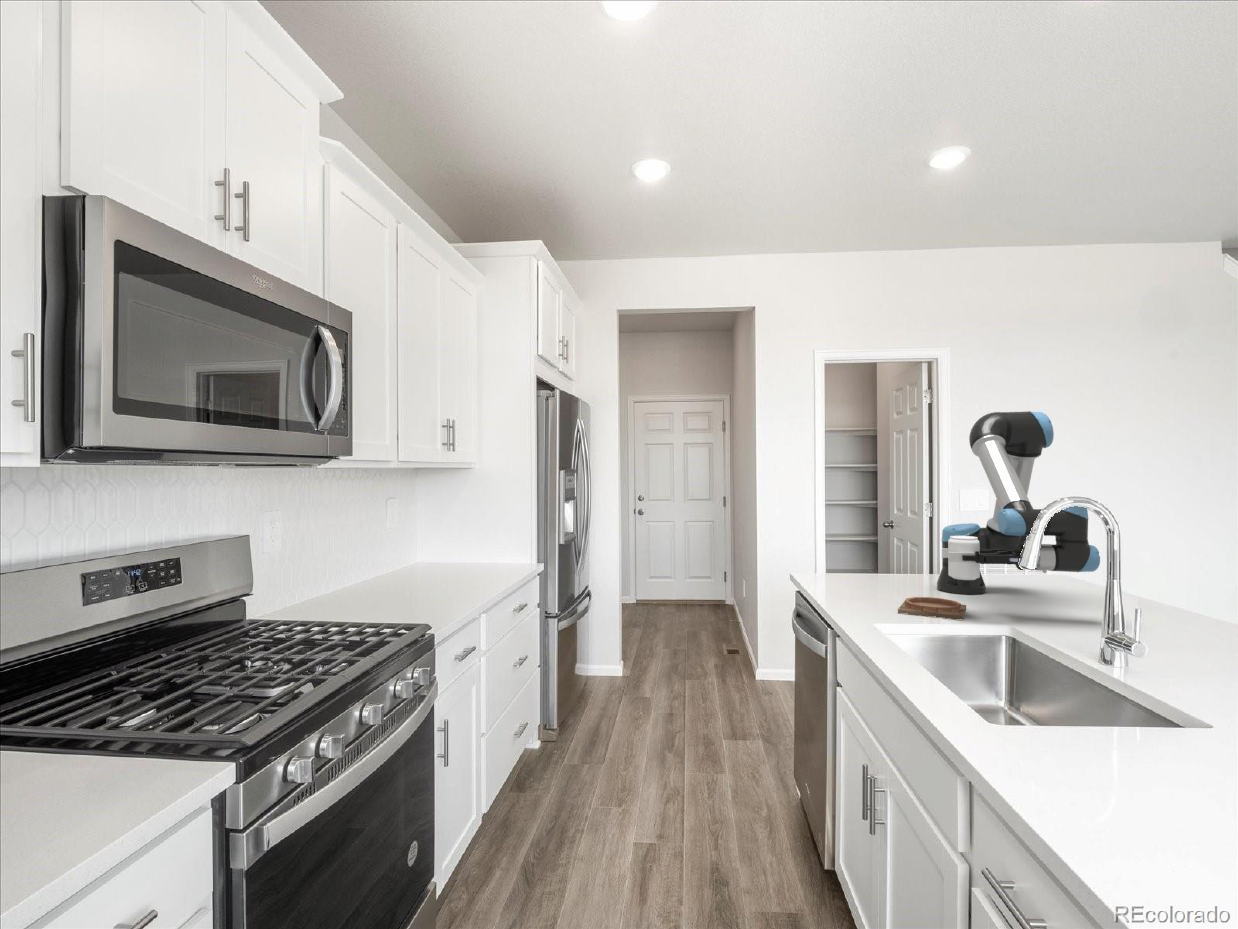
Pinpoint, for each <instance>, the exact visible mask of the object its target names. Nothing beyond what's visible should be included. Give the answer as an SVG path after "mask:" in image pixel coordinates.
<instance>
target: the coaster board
mask: <svg viewBox="0 0 1238 929" xmlns="http://www.w3.org/2000/svg"><path fill="white" fill-rule="evenodd" d="M966 612H967V604H963V603H960V602H958V601H956V600H952V599H947V598H941V597H931V596H930V597H929V596H914V597H908V598H905V599H904V601H903V602H902V604H901V605H900V606H899V607H898V608H897V614H900V613H908V614H907V615H910V614H914V615H913V616H919V615H921V616H920V617H928V616H936V617H935V618H938V617H945V618H944V619H947V618H951V619H950V620H956V619H963V620H964V617H965V614H966ZM964 613H965V614H964ZM963 616H964V617H963Z"/></svg>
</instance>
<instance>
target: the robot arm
mask: <svg viewBox="0 0 1238 929" xmlns="http://www.w3.org/2000/svg"><path fill="white" fill-rule="evenodd" d="M1053 426H1054V425H1053V424H1052V421H1051V419H1050V417H1049V416H1048V415H1047V414H1046V413H1044V412H1042V411H1031V410H1028V411H1006V412H1005V411H1004V412H1003V411H1002V412H1000V411H995V412H990V413H987V414H985V415H982V416H981V417H980V418H979V419H977V420H976V421H975V423H974V424H973V426H972V428H971V430H970V431H969V432H970V433H969V437H968V438H969V439H968V440H969V445H970V448H971V451H972V453H973V455H975V456H976V457H978V458H979V461H980V463H981V465H982V467H983V470H984V472H985V475H986V477H987V480H988V481H989V482H988V483H990V486H991V489H992V490H993V494H994V495H995V498H996V500H995V505H994V510H993V516H992V517H991V518H989V519H988V520H987V521H986V526H985V527H981V526H980V525H979V524H978V523H974V522H972V523H957V524H951V525H947V526H944V527H943V528H942V532H941V536H942V537H941V560H942V564H941V566H942V568H941V571H940V574H939V576H938V579H937V583H936V590H938V589H940V590H939V591H941V590H942V591H941V592H945V593H950V592H952V593H951V594H959V595H960V594H961V595H981V594H985V593H987V590H986V583H985V581H984V578H983V575H982V572H981V571H980V577H979V578H977V579H975V580H960V579H954V578H952V577H951V576H949V575H948V540H949V539H950V536H973V537H977V538H978V541H979V542H980V554H979V552H978V551H975V553H962V552H949V562H970V563H975V562H976V563H980V565H1015V568H1017V570H1019V571H1024V570H1023V569H1021V568H1020V567H1019V565H1018V562H1019V558H1020V553H1021V551H1022V549H1023V545H1024V541H1025V540H1026V537H1027V536H1029V534H1030V531H1031V528H1032V527H1033V523H1034V521H1035V520H1036V518H1037V516H1038V514H1039V513H1040V511H1041V510H1043V508H1042V509H1040V508H1038V509H1037V508H1034V506H1032V503H1031V501H1030V500H1029V498H1028V494H1029V489H1030V484H1031V478H1032V474H1033V469H1034V464H1035V459H1037V458H1039V457H1041V455H1042V452H1043V449H1046V448H1049V447H1050V446H1051V445H1052V444H1053V441H1054V434H1055V433H1054V427H1053ZM1088 512H1089V511H1088V507H1087V508H1084V507H1078V506H1074V507H1069V508H1066V509H1064V510H1061V511H1060V512H1058V513H1055V514H1054V516H1053V517H1051V519H1050V521H1049V522H1048V524H1047V527H1046V528H1045V531H1044V536H1045V537H1055V542H1056V543H1055V544H1050V543H1040V544H1041V548H1040V556H1039V560H1038V563H1037V568H1035V569H1033V570H1032V571H1034V570H1035V571H1039V572H1040V571H1042V572H1043V574H1046V573H1047V572H1048V571H1049V572H1069V573H1082V572H1083V573H1089V572H1090V573H1091V572H1095V571H1096V570H1098V569H1099V567H1100V564H1101V556H1100V551H1099V548H1097V547H1096V545H1092V544H1089V539H1088V538H1089V534H1088V533H1089V514H1088ZM1044 536H1043V537H1044Z"/></svg>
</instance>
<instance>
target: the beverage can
mask: <svg viewBox="0 0 1238 929" xmlns="http://www.w3.org/2000/svg"><path fill="white" fill-rule="evenodd" d="M975 551H978V552H979V554H980V542H979V541H978V538H977V537H973V536H950V539H949V540H948V575H949V576H951V577H952V578H954V579H960V580H975V579H977V578H979V577H980V572H981V564H980V563H976V562H975V563H970V562H949V552H962V553H975Z"/></svg>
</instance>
